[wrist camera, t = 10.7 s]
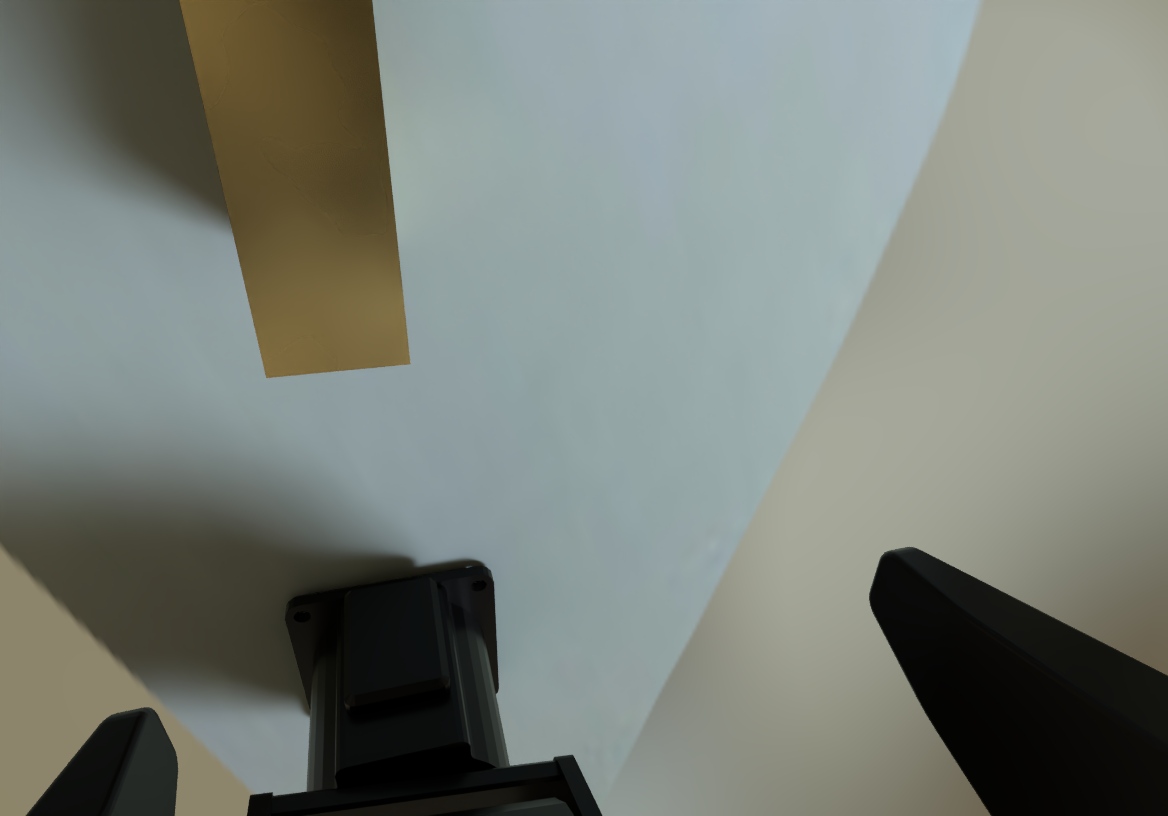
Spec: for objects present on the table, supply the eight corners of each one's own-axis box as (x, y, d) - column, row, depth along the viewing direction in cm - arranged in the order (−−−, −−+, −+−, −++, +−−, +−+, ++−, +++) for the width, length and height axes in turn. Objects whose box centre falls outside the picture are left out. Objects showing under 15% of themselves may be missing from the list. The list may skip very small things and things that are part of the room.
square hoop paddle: (426, 245, 18) (466, 403, 12) (253, 255, 17) (200, 431, 11) (379, -308, 13) (410, -541, 6) (122, -341, 12) (-128, -653, 5)
